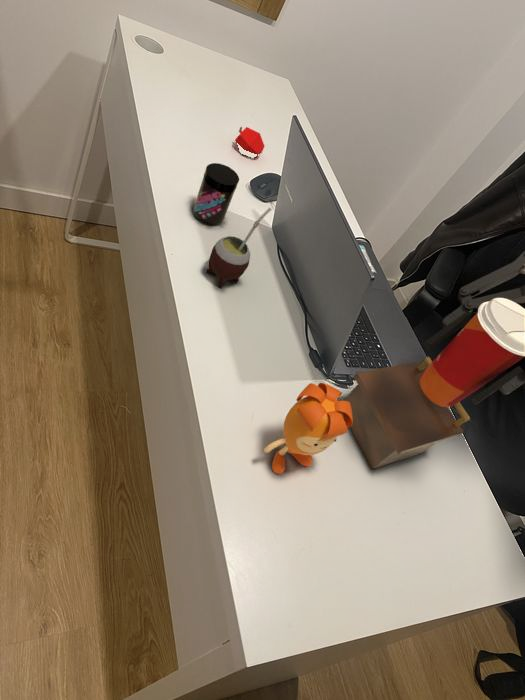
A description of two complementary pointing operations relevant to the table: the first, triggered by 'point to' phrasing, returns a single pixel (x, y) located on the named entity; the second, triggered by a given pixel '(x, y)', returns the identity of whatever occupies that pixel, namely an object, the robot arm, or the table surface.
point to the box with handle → (398, 414)
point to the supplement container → (215, 193)
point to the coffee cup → (477, 353)
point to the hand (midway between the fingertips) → (450, 372)
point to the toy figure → (312, 425)
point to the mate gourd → (231, 256)
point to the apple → (250, 140)
